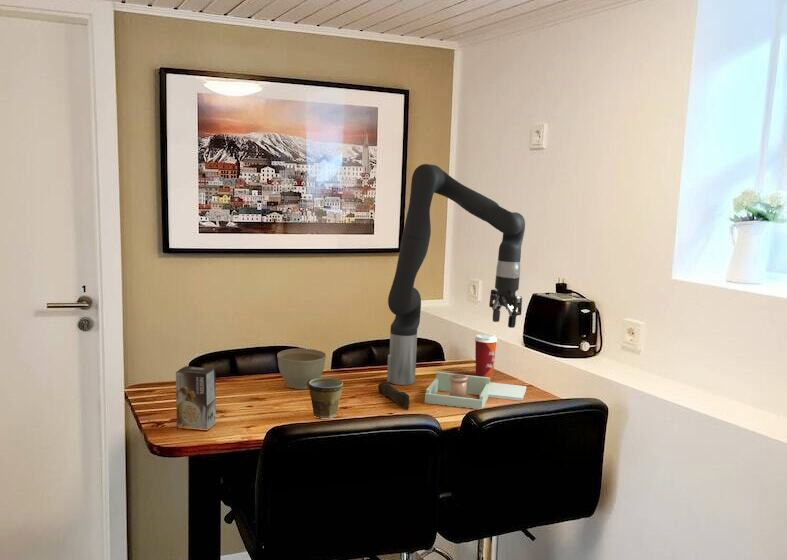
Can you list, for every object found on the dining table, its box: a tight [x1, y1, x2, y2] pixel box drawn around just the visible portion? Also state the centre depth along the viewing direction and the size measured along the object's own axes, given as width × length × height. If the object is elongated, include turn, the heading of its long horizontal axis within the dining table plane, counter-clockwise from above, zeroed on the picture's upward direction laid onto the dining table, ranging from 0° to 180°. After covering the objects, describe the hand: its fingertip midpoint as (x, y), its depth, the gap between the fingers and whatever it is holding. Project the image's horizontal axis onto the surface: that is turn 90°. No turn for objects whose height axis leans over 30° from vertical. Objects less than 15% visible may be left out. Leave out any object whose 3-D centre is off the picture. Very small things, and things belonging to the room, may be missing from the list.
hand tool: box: [377, 381, 411, 410], centre depth 216 cm, size 19×4×5 cm, turn 22°
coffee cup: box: [474, 333, 498, 380], centre depth 247 cm, size 8×8×15 cm
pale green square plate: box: [478, 381, 527, 402], centre depth 229 cm, size 14×14×1 cm
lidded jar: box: [449, 373, 468, 398], centre depth 220 cm, size 6×6×8 cm
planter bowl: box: [276, 348, 327, 390], centre depth 228 cm, size 16×16×11 cm
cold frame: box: [424, 371, 491, 410], centre depth 220 cm, size 18×16×6 cm
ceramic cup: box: [307, 377, 344, 419], centre depth 201 cm, size 13×10×10 cm
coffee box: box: [175, 365, 217, 429], centre depth 187 cm, size 9×6×16 cm
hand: (503, 324), depth 221 cm, fingers open, 8 cm apart
